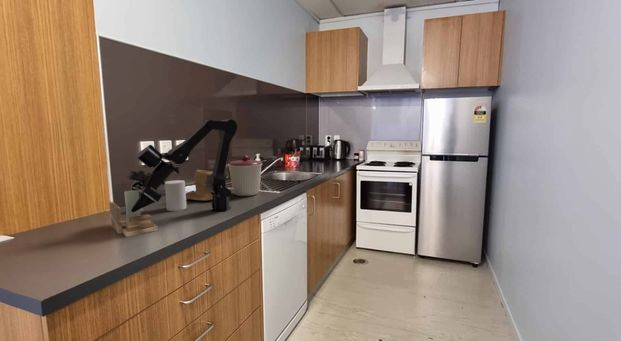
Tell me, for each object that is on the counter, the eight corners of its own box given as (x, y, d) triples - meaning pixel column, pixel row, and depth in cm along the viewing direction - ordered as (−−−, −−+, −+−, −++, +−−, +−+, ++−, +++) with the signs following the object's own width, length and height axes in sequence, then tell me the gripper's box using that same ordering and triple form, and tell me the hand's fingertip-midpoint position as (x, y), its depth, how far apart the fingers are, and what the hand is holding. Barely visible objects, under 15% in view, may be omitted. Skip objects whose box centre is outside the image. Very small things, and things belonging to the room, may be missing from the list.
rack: (144, 220, 123) (143, 197, 122) (158, 230, 110) (156, 205, 109) (111, 226, 116) (109, 202, 114) (122, 237, 103) (119, 210, 102)
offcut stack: (150, 224, 113) (150, 213, 113) (154, 226, 110) (153, 215, 110) (125, 229, 108) (124, 217, 108) (128, 232, 105) (127, 220, 105)
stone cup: (222, 198, 160) (220, 169, 158) (205, 203, 149) (203, 172, 147) (199, 196, 166) (198, 167, 164) (181, 200, 156) (179, 170, 154)
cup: (189, 206, 144) (188, 180, 143) (180, 210, 136) (179, 183, 135) (172, 206, 145) (171, 180, 144) (162, 210, 137) (160, 183, 135)
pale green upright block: (139, 224, 118) (136, 190, 116) (141, 226, 116) (138, 191, 114) (127, 226, 115) (124, 191, 113) (129, 228, 113) (126, 192, 111)
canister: (237, 190, 180) (236, 153, 177) (268, 191, 176) (266, 153, 173) (222, 197, 162) (220, 156, 159) (256, 198, 159) (254, 156, 156)
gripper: (134, 160, 122) (103, 192, 116) (148, 163, 108) (114, 200, 102) (157, 177, 128) (129, 209, 122) (174, 183, 114) (143, 219, 108)
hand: (128, 209), depth 114 cm, fingers open, 9 cm apart
